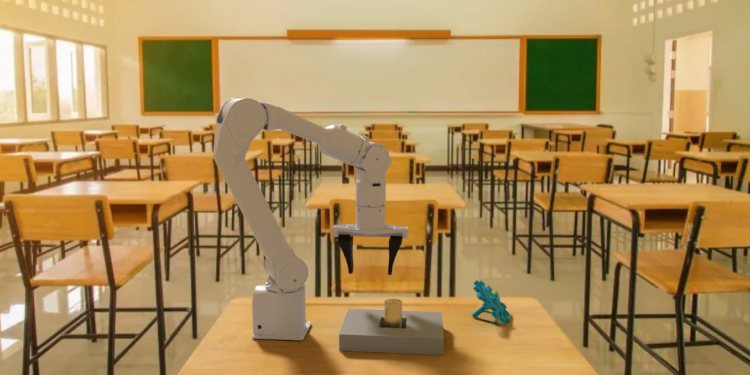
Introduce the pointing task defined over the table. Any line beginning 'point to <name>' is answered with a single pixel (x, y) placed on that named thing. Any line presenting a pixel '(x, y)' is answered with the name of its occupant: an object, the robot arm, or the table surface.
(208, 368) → the table surface
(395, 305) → the brass pin
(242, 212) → the robot arm
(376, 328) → the hole plate
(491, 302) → the teal knobby piece
